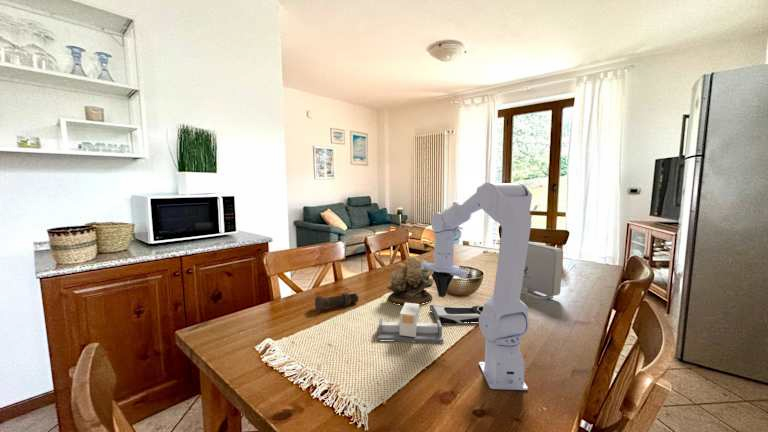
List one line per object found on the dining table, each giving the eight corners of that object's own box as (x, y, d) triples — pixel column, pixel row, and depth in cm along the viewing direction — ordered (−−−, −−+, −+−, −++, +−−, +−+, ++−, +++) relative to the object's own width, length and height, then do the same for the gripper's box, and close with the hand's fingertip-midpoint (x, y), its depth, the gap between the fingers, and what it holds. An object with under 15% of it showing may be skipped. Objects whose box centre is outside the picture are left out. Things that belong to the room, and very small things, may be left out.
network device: (497, 282, 138) (499, 238, 136) (511, 280, 142) (514, 237, 140) (548, 303, 115) (552, 250, 113) (564, 299, 119) (568, 248, 116)
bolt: (357, 308, 113) (317, 315, 105) (352, 297, 116) (313, 304, 108) (361, 297, 110) (321, 304, 102) (356, 286, 113) (316, 292, 105)
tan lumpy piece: (426, 292, 125) (428, 250, 123) (439, 303, 114) (441, 258, 112) (383, 295, 120) (384, 252, 118) (392, 308, 109) (394, 260, 107)
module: (415, 337, 85) (415, 315, 85) (399, 335, 86) (399, 313, 86) (419, 324, 93) (419, 304, 92) (404, 322, 94) (404, 302, 93)
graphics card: (429, 304, 105) (501, 303, 107) (429, 313, 106) (501, 313, 107) (436, 317, 95) (515, 316, 97) (436, 327, 96) (515, 326, 97)
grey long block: (443, 343, 85) (443, 330, 85) (377, 341, 86) (378, 329, 85) (438, 327, 94) (438, 316, 94) (379, 326, 95) (379, 315, 94)
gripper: (416, 250, 95) (414, 293, 96) (460, 258, 86) (458, 306, 87) (428, 247, 100) (426, 288, 102) (470, 254, 91) (468, 299, 93)
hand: (442, 296), depth 95 cm, fingers closed
